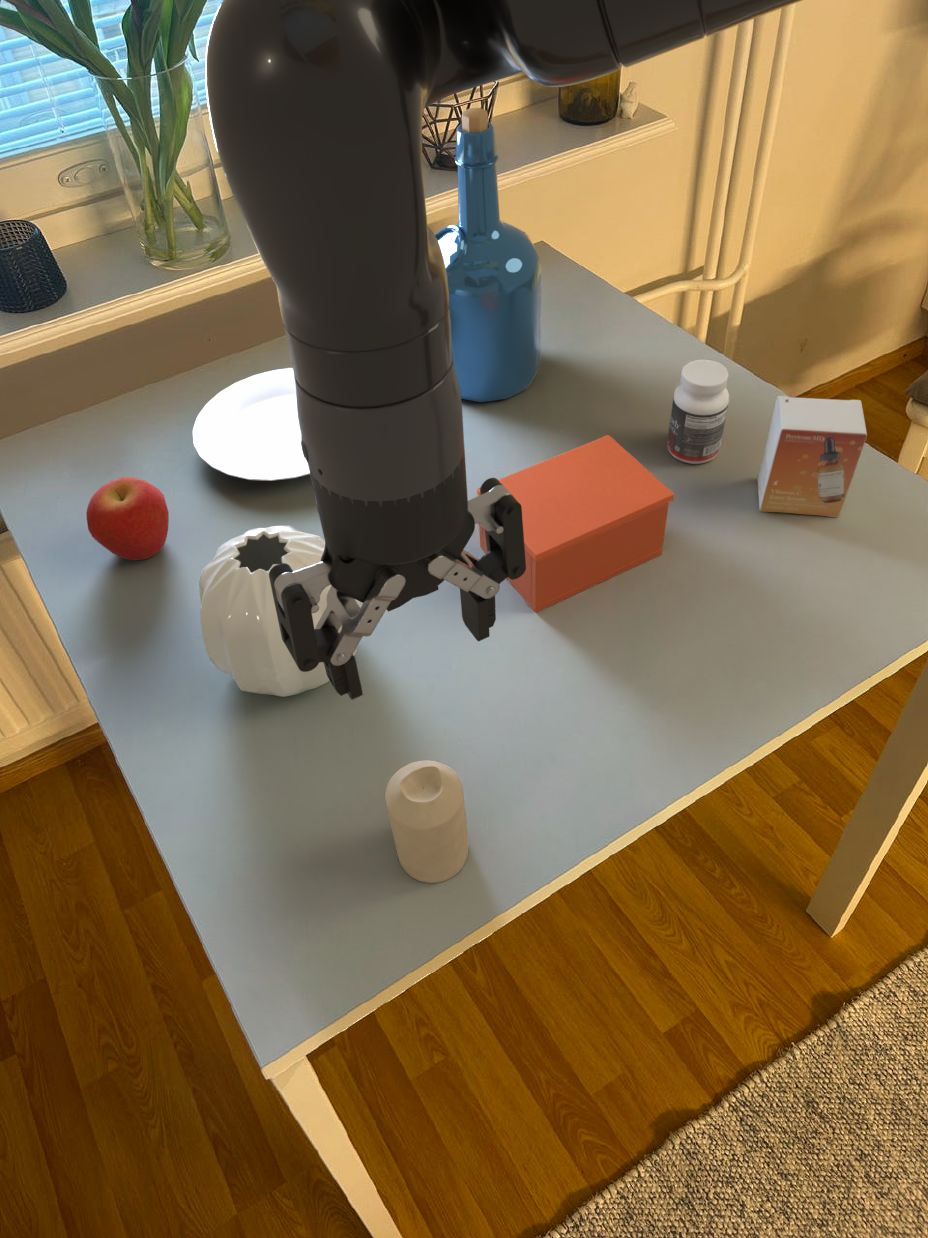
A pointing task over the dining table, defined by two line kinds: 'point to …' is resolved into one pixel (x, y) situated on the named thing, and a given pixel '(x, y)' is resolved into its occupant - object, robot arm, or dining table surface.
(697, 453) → the pill bottle
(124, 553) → the apple
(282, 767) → the dining table surface
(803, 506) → the small box
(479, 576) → the robot arm
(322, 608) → the vase
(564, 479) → the lunchbox lid
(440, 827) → the candle
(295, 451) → the plate
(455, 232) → the wine bottle
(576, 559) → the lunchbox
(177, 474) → the dining table surface
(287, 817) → the dining table surface
